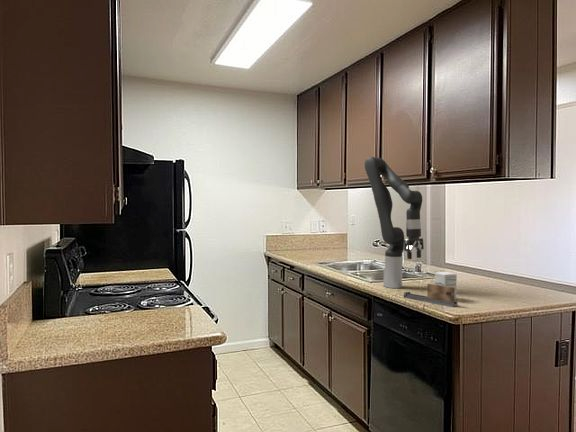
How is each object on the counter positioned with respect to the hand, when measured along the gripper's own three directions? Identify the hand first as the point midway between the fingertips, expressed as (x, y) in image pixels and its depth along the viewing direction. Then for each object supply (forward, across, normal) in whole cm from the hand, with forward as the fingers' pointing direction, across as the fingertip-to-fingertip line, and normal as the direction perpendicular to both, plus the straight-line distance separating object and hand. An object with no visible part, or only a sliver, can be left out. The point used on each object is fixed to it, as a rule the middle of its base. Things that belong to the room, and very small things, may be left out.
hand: (414, 258), depth 228 cm
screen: (+17, +18, +25) cm, 35 cm away
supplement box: (+18, +6, +21) cm, 29 cm away
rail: (+18, +17, +19) cm, 31 cm away
